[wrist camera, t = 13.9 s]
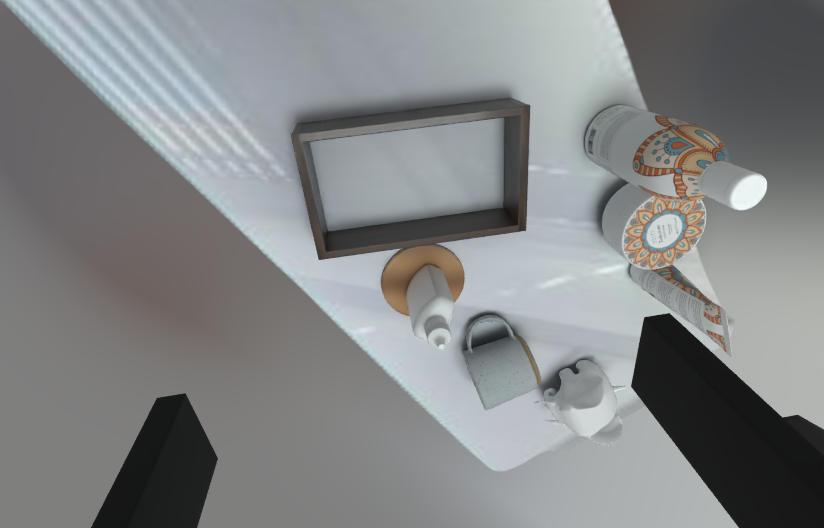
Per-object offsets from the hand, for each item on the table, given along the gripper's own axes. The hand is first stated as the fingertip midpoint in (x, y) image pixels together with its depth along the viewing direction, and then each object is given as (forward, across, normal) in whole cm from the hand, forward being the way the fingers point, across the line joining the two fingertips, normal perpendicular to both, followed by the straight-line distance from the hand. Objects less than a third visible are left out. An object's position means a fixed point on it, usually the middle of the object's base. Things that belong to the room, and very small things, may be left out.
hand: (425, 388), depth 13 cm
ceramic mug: (+36, +11, -30) cm, 48 cm away
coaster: (+36, +3, -19) cm, 41 cm away
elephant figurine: (+36, +23, -40) cm, 58 cm away
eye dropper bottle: (+35, +3, -19) cm, 40 cm away
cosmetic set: (+36, +29, -13) cm, 48 cm away
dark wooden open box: (+36, +4, -5) cm, 37 cm away
